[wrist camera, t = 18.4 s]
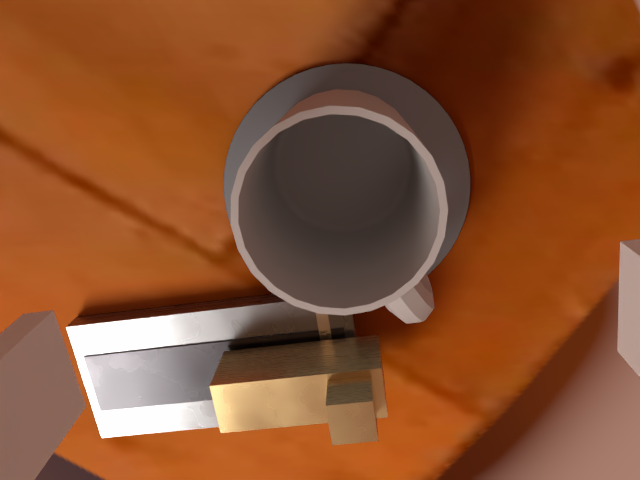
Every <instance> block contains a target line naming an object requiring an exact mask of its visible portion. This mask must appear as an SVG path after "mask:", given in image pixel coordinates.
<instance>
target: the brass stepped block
mask: <svg viewBox="0 0 640 480" xmlns="http://www.w3.org/2000/svg"><path fill="white" fill-rule="evenodd" d="M209 387H210V391H211V395H212V399H213V403H214V407H215V411H216V416H217V420H218V424H219V428H220V432H221V433H225V432H236V431H247V430H257V429H268V428H278V427H289V426H300V425H310V424H321V423H329V429H330V434H331V440H332V445H339V444H350V443H361V442H372V441H378V429H377V418H385V417H388V413H387V403H386V393H385V382H384V374H383V366H382V359H381V351H380V344H379V336H378V335H370V336H361V337H352V338H343V339H334V340H324V341H315V342H306V343H297V344H288V345H278V346H269V347H260V348H251V349H241V350H232V351H224V353H223V355H222V357H221V360H220V362H219V365H218V367H217V369H216V372H215V374H214V376H213V379H212V381H211V383H210V386H209Z"/></svg>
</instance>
